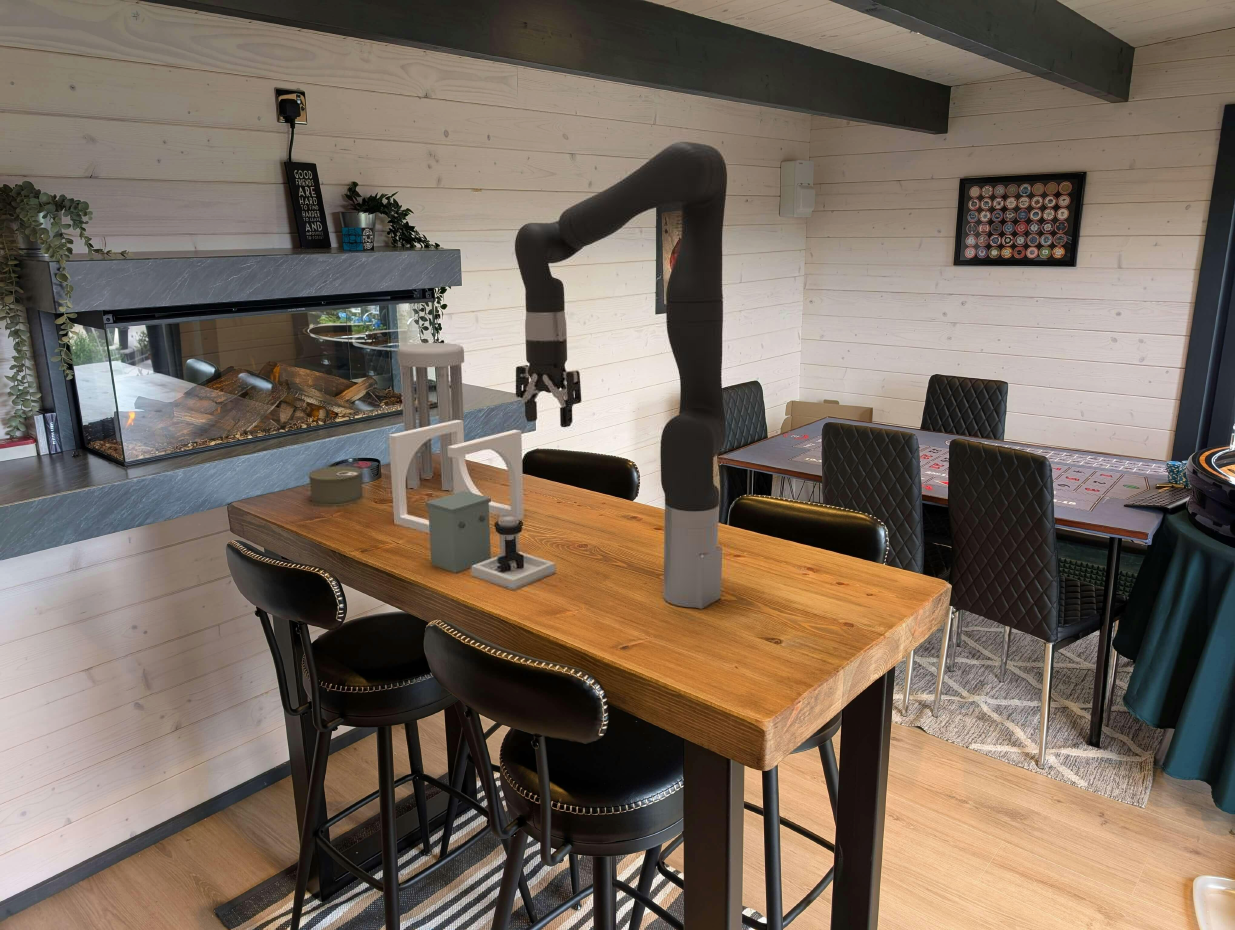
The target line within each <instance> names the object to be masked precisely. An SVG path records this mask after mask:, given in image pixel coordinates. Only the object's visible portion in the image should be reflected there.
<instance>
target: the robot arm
mask: <svg viewBox="0 0 1235 930" xmlns="http://www.w3.org/2000/svg"><path fill="white" fill-rule="evenodd" d="M727 171H728V170H727V165H726V161H725V159H724V157H723V155H722V153H721V152H720V151H719V150H718V149H717V148H715V147H714V146H711V145H708V144H703V143H697V142H693V141H692V142H691V141H678V142H674V143H672V144H669V145H668V146H667V147H665V148H663V149H662V150H661V151H660V152H658V153H657V154H656V155H654V156H653V157H651V158H650V159H649V160H648V161H646V162H645V163H644V164H643V165H641V166H640V167H639V168H637V169H636V170H635V171H633V172H631V173H630V174H628V175H627V176H626V177H624V178H623V179H621V180H619V181H618V182H616V183H615V184H613V185H612V186H610V187H608V188H606V189H604V190H602V191H599V192H598V193H596V194H594V195H592V196H590V197H588V198H585V199H584V200H582V201H580V202H578V203H576V204H573V205H571V206H570V207H568V208H566V209H565V210H564V211H562V213H561V214H560V216H559V218H558V220H556V221H554V222H529V223H526V224H523V225H522V226H521V227H520V228H519V230H518V232H517V234H516V236H515V241H514V252H515V253H514V254H515V257H516V262H517V265H518V268H519V272H520V277H521V280H522V283H523V287H524V289H525V294H524V295H525V299H524V300H525V320H524V330H525V331H524V332H525V333H524V335H525V358H526V359H525V360H526V362H527V363H528V364H529V365H528V364H525V365H524V364H523V365H518V366H516V367H515V397H516V398H517V399H522V401H523V402H524V415H525V419H526V422H527V423H529V422H530V423H532V422H537V420H538V406H537V404H538V403H537V401H536V400H537V398H538V396H539V394H540V393H541V392H546V393H547V394H552V396H553V397H554V398H556V400H557V401H558V403H559V405H560V407H559V418H560V419H559V420H560V422H559V423H560V427H561V428H568V427H570V426H571V425H572V424H573V407H574V406H575V405H577V404H580V403H581V402H582V389H581V387H582V386H581V375H580V374H581V373H580V371H579V370H572V371H571V370H569V371H568V370H567V369H566V363H567V361H568V337H567V336H568V334H567V333H568V332H567V331H568V330H567V318H566V311H565V305H566V304H565V303H566V301H565V286H564V283H563V280H561V279H559V278H557V277H553V275H552V273H551V268H550V266H549V264H557V263H561V262H563V261H566V260H568V259H569V258H571V257H573V256H575V254H576V255H577V253H579V252H580V251H581V250H582V249H583V248H585V247H587V246H589V245H592V244H594V243H596V242H599V241H601V240H603V239H605V238H607V237H609V236H610V235H612V234H614V233H616V232H618V231H619V230H621V229H622V228H623V227H624V226H625V225H627V223H629V222H630V221H631V220H633V219H634V218H635V217H637V216H639V215H640V214H642V213H644V212H647V211H649V210H651V209H657V208H659V207H662V206H663V207H664V206H668V205H672V204H679V205H680V210H681V211H680V212H681V213H680V214H681V237H680V242H679V247H678V249H677V250H678V251H677V254H676V257H675V259H674V262H673V265H672V268H671V271H670V275H669V279H668V282H667V285H666V292H665V293H666V294H665V301H666V302H665V310H666V311H665V314H666V318H665V319H666V320H665V321H666V332H667V336H668V337H667V338H668V341H669V344H670V348H671V352H672V355H673V358H674V360H675V364H676V367H677V370H678V375H679V383H680V384H679V385H680V388H679V389H680V393H679V395H680V396H679V411H678V414H677V415H675V416H673V417H672V418H670V420H669V421H667V422H666V424H665V426H664V427H663V429H662V433H661V437H660V450H659V451H660V452H659V453H660V454H659V455H660V456H659V457H660V458H659V459H660V482H661V487H662V491H663V493H664V528H663V529H664V531H663V532H664V537H663V538H664V539H663V585H662V586H663V590H662V591H663V594H662V596H663V599H664V601H666V602H668V603H670V604H671V605H674V606H676V607H677V606H678V607H685V608H696V609H697V608H698V609H704V608H706V607H707V606H709V605H711V604H713V603H714V602H715V603H716V602H717V601H719V599H721V597H722V596H721V595H722V574H723V573H722V572H723V571H722V570H723V569H722V568H723V546H720V545H719V544H718V543H719V540H718V539H719V519H720V517H719V513H720V512H719V511H720V490H719V488H718V487H717V485H716V484H715V483H714V458H715V457H716V456H717V455H719V453H720V452H721V451H722V450H723V448H724V446H725V443H726V441H727V422H726V412H725V405H724V404H725V403H724V395H723V381H722V371H723V328H724V295H723V232H724V231H723V230H724V229H723V228H724V217H725V207H726V197H727V188H728V172H727Z"/></svg>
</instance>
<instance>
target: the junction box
mask: <svg viewBox="0 0 1235 930" xmlns="http://www.w3.org/2000/svg"><path fill="white" fill-rule="evenodd" d="M491 501H492V498H491V497H489V496H485V495H483V496H481V495H478V494H474V493H470V492H466V491H462V492H459V493H455V494H454V493H451V494H449V495H445V496H442V497H438V498H435V499H431V500H427V501H425V507H427V508H428V509H427V510H428V520H429V532H430V534H429V547H430V564H432V565H431V566H434V565H435V567H437V568H440V569H443V570H445V571H448V572H451V573H454V574H457V573H459V572H461V571H465V570H467V569H470V568H472V566H473V565H475V564H478V563H481V562H483V561H486V560H489V559H492V555H491V552H492V551H491V527H490V513H489V503H490V502H491Z"/></svg>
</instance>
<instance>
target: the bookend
mask: <svg viewBox="0 0 1235 930" xmlns="http://www.w3.org/2000/svg"><path fill="white" fill-rule="evenodd" d="M450 432H451V439H452V446H448V447H447V448H448V456H449V457H452V461H453V482H454V489H453V494H455V493H459V492H462V491H466V492H470V493H474V494H478V495H481V496H484V495H483V493H481V492H480V491H479V489H478V488H477V487H476V485H475V484H474V482H473V480H472V478H471V476H470V474H469V471H468V467H467V464H466V463H467V462H466V455H470V454H473V453H478V452H482V451H486V450H491V451H493V452H495V453H496V454H497V455H499V457H500V458H501V459H502V461H503V462H504V465H505V467H506V469H507V472H508V477H509V501H510V505H506V504H502V503H499V502H495V501H492V500H491V502H490V503H489V514H492V515H495V516H496V515H497V516H499V517H502V516H507V515H512V516H517V517H518V520H521V519H523V518H524V515H525V514H524V488H523V487H524V482H523V447H522V446H523V445H522V444H523V443H522V439H523V438H522V430H519V429H518V430H517V429H511V430H508V431H505V432H500V433H496V434H492V435H489V436H485V437H480V438H477V439H472V440H469V441H465V442H464V439H465V429H464V430H463V421H461V420H454V421H452V420H451V421H450V422H445V423H441V424H439V423H437V424H432V425H430V426H427V427H423V428H419V427H418V428H417V429H414V430H409V431H405V432H404V431H402V432H398V433H397V432H396V433H391V434H388V444H389V446H388V447H389V457H390V461H389V463H390V475H391V476H390V477H391V489H392V490H391V491H392V504H393V507H392V508H393V519H394V520H393V521H394V524H395V525H397V526H401V525H402V527H406V528H408V527H410V528H409V529H412V528H413V529H412V530H415V529H416V530H415V531H420V532H423V533H426V534H429V535H430V532H429V519H425V518H422V517H418V516H415V515H414V516H413V515H411V514H408V506H407V505H408V504H407V492H406V491H407V490H406V481H407V470H408V466H409V464H410V461H411V459H412V457H413V455H414V454H415V452H416V451H417V449H418V448H419V447H420V446H421V445H422V444H423V443H424V442H425V441H427V440H428V439H430V438H431V439H432V438H434V437H437V436H440V435H442V434H446V433H450ZM465 462H466V463H465Z"/></svg>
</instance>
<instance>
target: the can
mask: <svg viewBox="0 0 1235 930" xmlns="http://www.w3.org/2000/svg"><path fill="white" fill-rule="evenodd" d="M308 478H309V485H310V493H311V494H310V496H311V503H312V504H313V505H314V504H315V505H314V506H317V505H319V506H318V507H322V506H325V508H335V507H334V506H337V507H338V506H339V507H345V506H344V505H346V506H350V505H349V504H351V505H354V504H353V503H355V504H357V503H359V502H361V501H362V500H363V498H362V497H363V486H362V485H363V484H362V483H363V482H362V469H361V468H359V467H356V466H348V465H347V466H346V465H337V466H326V467H322V468H317V469H314V470H312V471H310V472H308ZM361 499H362V500H361ZM360 500H361V501H360ZM358 501H359V502H358ZM356 502H357V503H356Z"/></svg>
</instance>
